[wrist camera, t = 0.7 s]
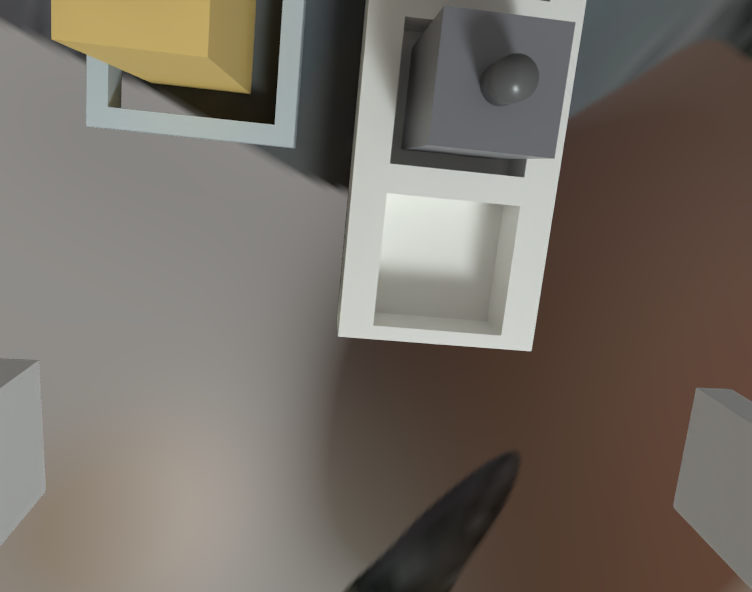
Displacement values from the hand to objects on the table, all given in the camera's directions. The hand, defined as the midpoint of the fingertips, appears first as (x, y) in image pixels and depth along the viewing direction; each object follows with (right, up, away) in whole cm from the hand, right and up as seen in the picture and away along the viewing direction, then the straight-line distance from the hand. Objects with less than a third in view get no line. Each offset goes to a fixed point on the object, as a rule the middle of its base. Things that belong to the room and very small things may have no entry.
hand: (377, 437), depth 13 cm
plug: (-9, +16, +19) cm, 27 cm away
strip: (+4, +13, +21) cm, 25 cm away
